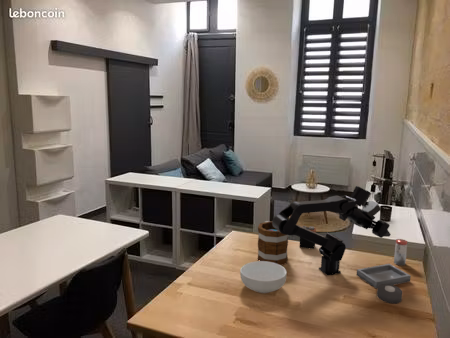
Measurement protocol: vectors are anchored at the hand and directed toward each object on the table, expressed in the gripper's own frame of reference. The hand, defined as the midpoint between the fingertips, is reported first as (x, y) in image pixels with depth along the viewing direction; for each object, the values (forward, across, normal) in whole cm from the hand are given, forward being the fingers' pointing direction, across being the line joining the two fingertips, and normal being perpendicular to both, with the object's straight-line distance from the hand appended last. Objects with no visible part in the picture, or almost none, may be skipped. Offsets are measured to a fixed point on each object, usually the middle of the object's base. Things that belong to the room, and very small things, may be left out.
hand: (382, 231), depth 154 cm
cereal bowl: (-38, -4, +42) cm, 57 cm away
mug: (-27, +20, +34) cm, 48 cm away
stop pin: (+15, -2, +8) cm, 17 cm away
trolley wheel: (-5, -24, +20) cm, 32 cm away
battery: (-9, +25, +23) cm, 35 cm away
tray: (+1, -11, +16) cm, 20 cm away
